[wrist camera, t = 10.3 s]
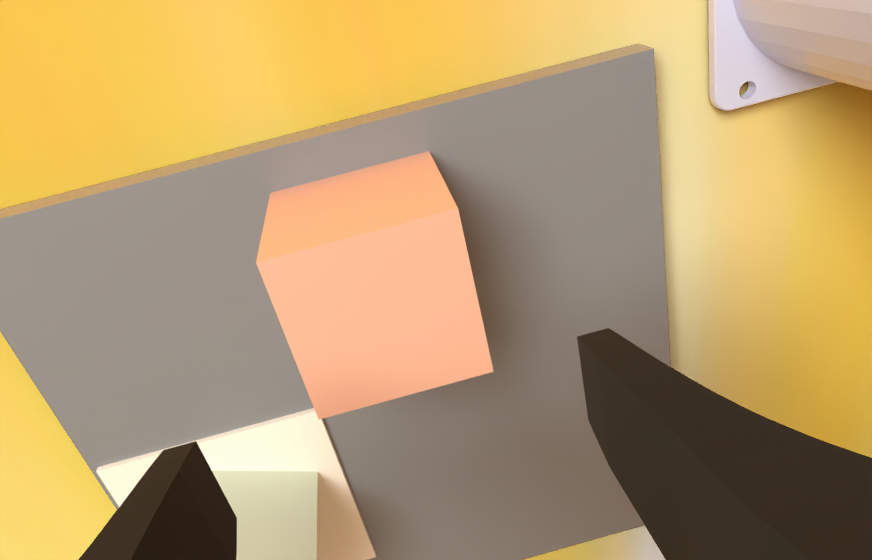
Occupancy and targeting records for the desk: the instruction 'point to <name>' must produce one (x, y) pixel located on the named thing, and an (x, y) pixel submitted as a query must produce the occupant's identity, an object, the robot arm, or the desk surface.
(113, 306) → the plate
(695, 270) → the desk surface
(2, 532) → the desk surface
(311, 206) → the salmon pink block
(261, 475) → the sage brick
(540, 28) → the desk surface
